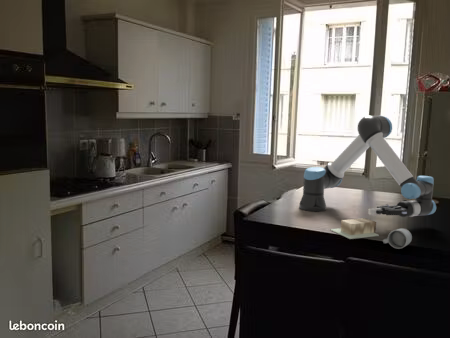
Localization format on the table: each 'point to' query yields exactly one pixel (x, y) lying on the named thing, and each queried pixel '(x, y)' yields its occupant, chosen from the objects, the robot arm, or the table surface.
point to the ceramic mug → (398, 238)
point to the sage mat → (353, 235)
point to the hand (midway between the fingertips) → (369, 211)
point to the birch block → (358, 226)
